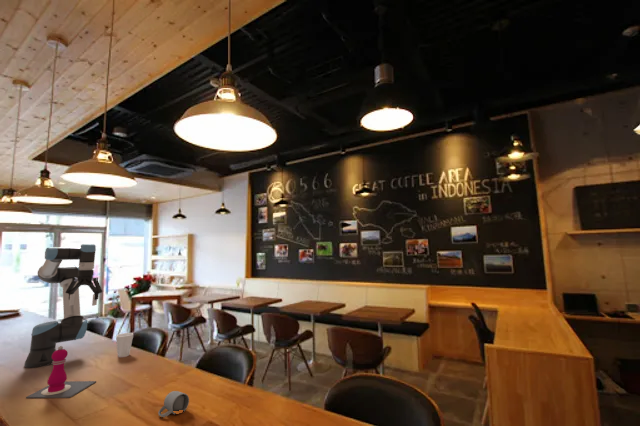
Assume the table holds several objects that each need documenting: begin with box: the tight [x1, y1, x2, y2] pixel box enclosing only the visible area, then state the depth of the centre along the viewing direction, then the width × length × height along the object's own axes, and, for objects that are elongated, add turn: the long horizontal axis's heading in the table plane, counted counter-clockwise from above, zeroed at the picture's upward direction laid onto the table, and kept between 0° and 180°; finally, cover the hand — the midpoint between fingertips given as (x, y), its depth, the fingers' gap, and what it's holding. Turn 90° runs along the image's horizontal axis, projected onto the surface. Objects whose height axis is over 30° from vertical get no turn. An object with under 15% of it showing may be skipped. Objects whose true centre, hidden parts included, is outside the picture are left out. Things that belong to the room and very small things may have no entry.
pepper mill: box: [47, 345, 69, 392], centre depth 151 cm, size 7×7×20 cm
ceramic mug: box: [157, 390, 190, 418], centre depth 130 cm, size 11×8×8 cm
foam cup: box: [115, 332, 134, 358], centre depth 201 cm, size 10×9×13 cm
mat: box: [25, 380, 97, 399], centre depth 151 cm, size 20×17×1 cm
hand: (82, 305), depth 186 cm, fingers open, 13 cm apart
